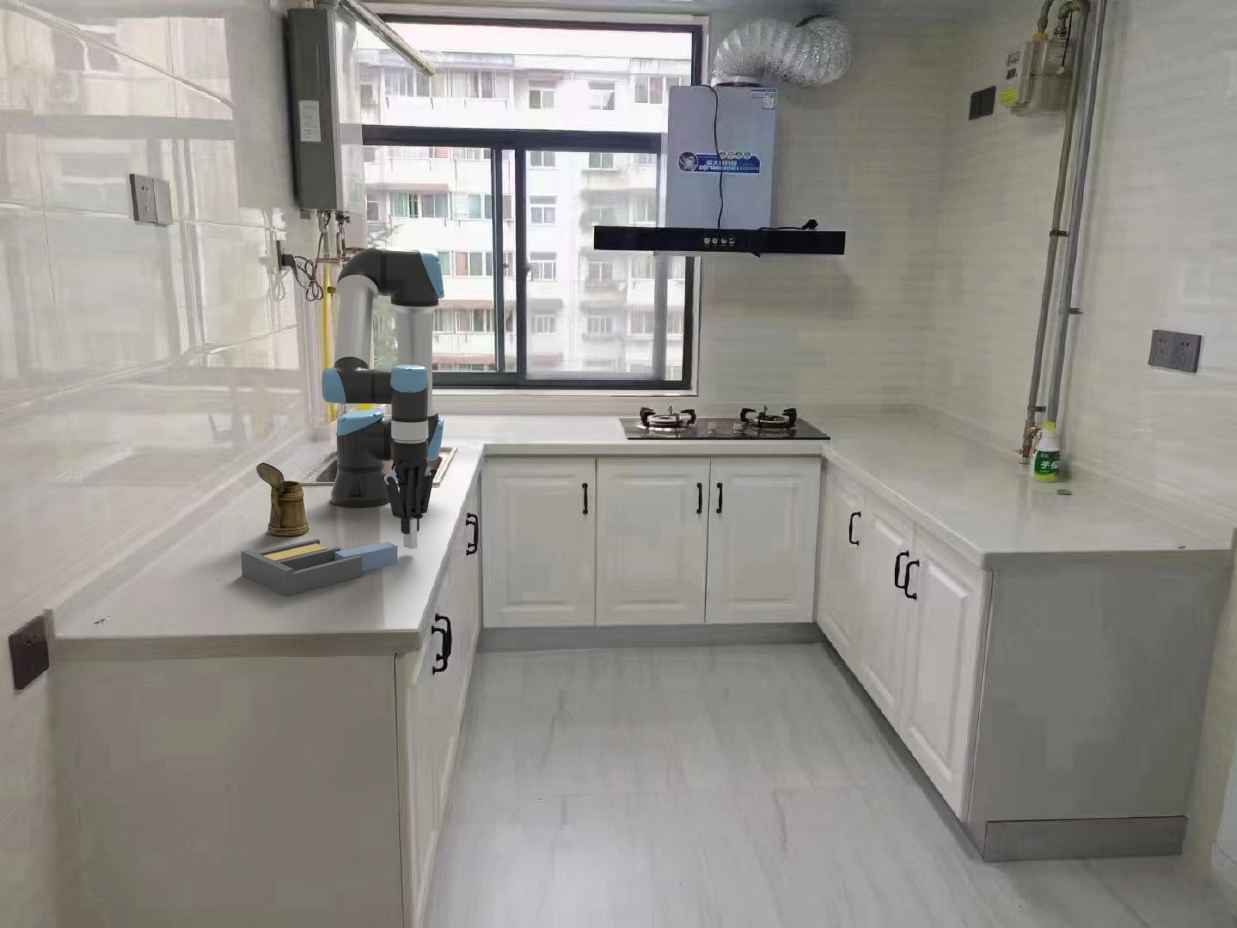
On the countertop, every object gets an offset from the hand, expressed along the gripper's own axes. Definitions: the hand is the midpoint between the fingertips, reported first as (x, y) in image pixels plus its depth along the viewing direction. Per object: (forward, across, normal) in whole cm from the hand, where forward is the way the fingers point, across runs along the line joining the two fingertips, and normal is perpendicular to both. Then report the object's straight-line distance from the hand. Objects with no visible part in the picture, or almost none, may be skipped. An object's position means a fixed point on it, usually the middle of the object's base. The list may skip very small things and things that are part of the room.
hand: (410, 547), depth 194 cm
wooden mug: (+2, +12, -31) cm, 33 cm away
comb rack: (+2, +24, -4) cm, 24 cm away
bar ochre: (+2, +22, -8) cm, 24 cm away
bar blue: (+2, +11, 0) cm, 11 cm away
